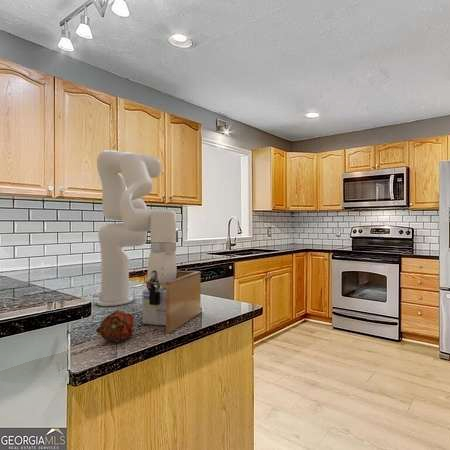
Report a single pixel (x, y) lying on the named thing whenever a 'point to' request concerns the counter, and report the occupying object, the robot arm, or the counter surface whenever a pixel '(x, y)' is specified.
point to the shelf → (182, 299)
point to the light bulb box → (154, 309)
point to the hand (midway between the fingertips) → (163, 300)
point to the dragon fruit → (116, 326)
